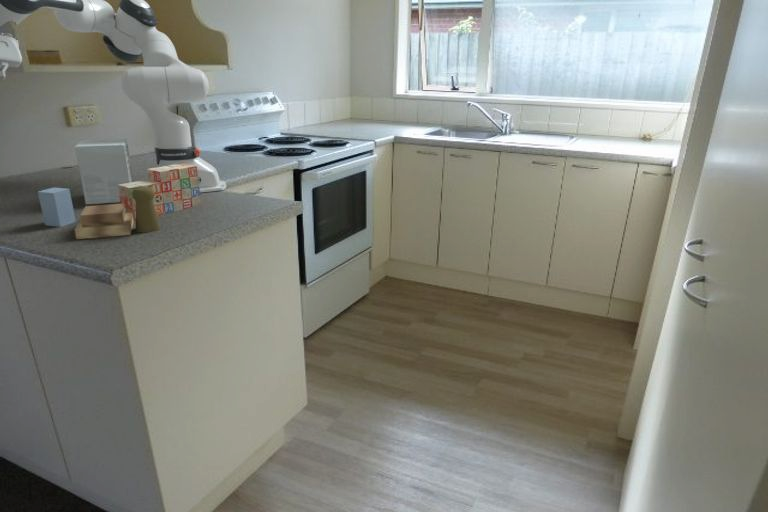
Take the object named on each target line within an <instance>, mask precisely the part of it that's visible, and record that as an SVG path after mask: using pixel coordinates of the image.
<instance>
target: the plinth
mask: <svg viewBox="0 0 768 512" xmlns="http://www.w3.org/2000/svg"><path fill="white" fill-rule="evenodd" d="M134 222H135V220H133V214H132V213H125V207H124V204H121V203H109V204H95V205H85V207H84V208H83V209H82V212H81V213H80V219H79V221H78V223H77V224H76V227H75V228H74V233H75V239H76V240H83V239H86V238H87V239H95V238H96V239H97V238H98V237H99V238H107V237H108V238H109V237H120V236H131V234H132V230H133V226H134Z"/></svg>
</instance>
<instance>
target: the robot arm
mask: <svg viewBox="0 0 768 512" xmlns="http://www.w3.org/2000/svg"><path fill="white" fill-rule="evenodd" d="M43 8H44V9H51V10H53V11H52V12H53V15H54V17H55V19H56V21H57V22H58V24H60V26H61V27H62V28H64V30H67V31H70V32H74V33H99V34H102V35H104V36H103V37H102V42H103V43H104V44H105V45H106V47H107V49H108V50H109V52H110V53H111V55H113V57H115V58H116V59H118V60H120V61H123V62H125V63H135V62H138V60H139V59H140V58H141V56H142V63H143V66H138V67H133V68H132V67H131V68H126V69H125V71H124V72H123V74H122V76H121V78H120V79H121V80H120V86H121V89H122V92H123V94H124V95H125V96H126V98H127V99H129V101H131V102H132V103H134V104H135V105H137V106H138V107H139V108H140V109H141V110H142V111H143V112H144V113H145V115H146V116H147V118H148V120H149V122H150V124H151V127H152V132H153V137H154V142H155V146H154V155H155V162H156V165H157V167H163V166H167V165H174V164H176V165H178V164H189V165H194V166H197V173H198V178H199V191H200V194H201V193H210V192H217V191H224V190H226V189H227V182H226V181H224V180H223V179H220V177H219V173H218V171H217V169H216V168H215V167H214V166H213V165H212V164H210V163H209V162H207V161H206V160H204V159H202V158H201V157H200V155H201V150H200V149H199V148H198V147H197V146H194V145H192V137H191V136H192V135H191V128H190V123H189V122H188V120H187V118H185V117H183V116H182V115H181V116H180V115H179V114H177V113H174V112H172V111H170V110H169V109H168V108H167V105H168V104H189V103H190V104H191V103H195V102H200V101H204V100H205V99H206V98H207V97H208V94H209V92H210V82H209V79H208V77H207V75H206V73H205V72H204V71H203V70H201V69H198V68H195V67H193V66H191V65H188V64H186V63H185V62H183V61H182V60H180V59H179V57H178V53H177V50H176V47H175V45H174V43H173V42H172V40H171V39H170V38H169V36H168V35H167V34H165V33H164V32H161V31H159V30H158V29H157V27H156V26H157V25H159V21H158V19H157V18H156V15H155V12H154V10H153V8H152V6H151V5H150V3H148V1H146V0H120V2H119V4H118V9H117V11H116V12H115V10H114V8H113V7H112V5H111V4H110V3H109V2H107V1H106V0H0V26H2V25H3V24H5V23H6V22H8V21H11V20H12V21H13V22H16V24H17V26H18V25H20V24H21V23H22V22H23V21H24V20H25V19H26V18H27V17H28V16H30V15H31V14H32V13H34V12H36V11H38V10H39V9H43ZM13 36H14V35H13V34H12V33H8V32H4V31H0V69H2V70H0V80H2V81H5V80H6V77H7V75H6V72H7V69H8V68H9V67H10V68H19V66H20V65H21V64H22V62H23V56H22V53H21V50H20V44H19V40H16V39H15V38H16V37H15V38H13Z"/></svg>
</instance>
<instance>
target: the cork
mask: <svg viewBox="0 0 768 512" xmlns="http://www.w3.org/2000/svg"><path fill="white" fill-rule="evenodd" d="M154 195H155V194H154V190H153V189H152V188H151V187H137V188H135V189H133V191H132V196H133V199H134V200H135V201H136V220H135V231H136V232H138V233H151V232H152V233H153V232H156V231H158V230H160V229H161V228H162V226H161V222H160V220H159V215H157V212H156V208H155V205H154V201H153V198H154Z"/></svg>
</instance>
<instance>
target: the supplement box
mask: <svg viewBox="0 0 768 512" xmlns="http://www.w3.org/2000/svg"><path fill="white" fill-rule="evenodd" d="M128 145H129V144H128V138H117V139H115V138H113V139H112V138H111V139H86V140H85V139H82V140H80V141H79V142H78V143H77V144H76V145H75V146H74V149H75V155H76V159H77V163H78V165H77V166H78V168H79V169H78V170H79V174H80V176H79V177H80V180H81V186H82V190H83V196H84V203H85V205H103V204H117V203H120V197H119V196H120V195H119V189H118V185H119V184H125V183H131V182H134V178H133V177H134V176H133V171H132V165H131V158H130V157H131V156H130V152H129V146H128Z"/></svg>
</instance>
